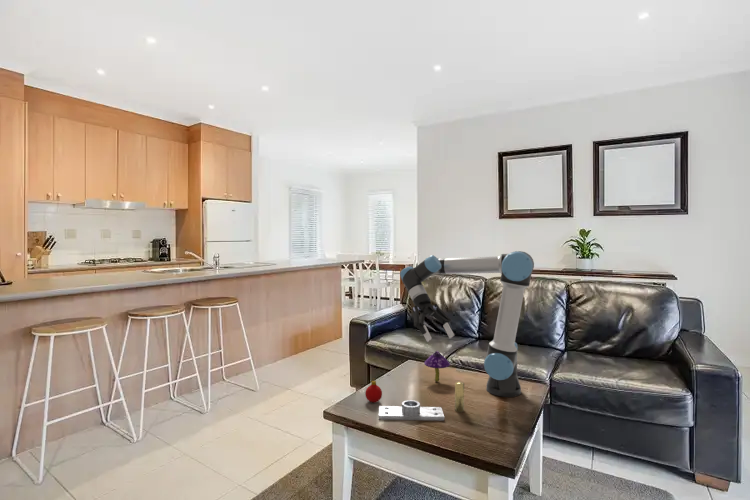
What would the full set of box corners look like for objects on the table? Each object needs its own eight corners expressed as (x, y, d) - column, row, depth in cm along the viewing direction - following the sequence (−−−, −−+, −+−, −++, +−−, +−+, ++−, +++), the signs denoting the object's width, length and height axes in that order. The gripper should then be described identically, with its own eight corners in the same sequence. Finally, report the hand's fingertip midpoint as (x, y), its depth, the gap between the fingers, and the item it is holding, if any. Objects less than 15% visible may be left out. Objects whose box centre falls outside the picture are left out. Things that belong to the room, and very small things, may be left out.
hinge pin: (463, 408, 165) (463, 381, 165) (464, 412, 162) (465, 384, 162) (454, 408, 165) (454, 381, 165) (455, 411, 162) (455, 384, 162)
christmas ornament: (379, 398, 176) (379, 375, 176) (383, 404, 169) (384, 380, 169) (363, 399, 174) (363, 376, 174) (367, 405, 167) (367, 382, 167)
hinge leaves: (441, 410, 163) (441, 399, 163) (444, 420, 154) (444, 408, 154) (379, 409, 164) (379, 398, 163) (378, 419, 155) (378, 407, 154)
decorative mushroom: (419, 382, 196) (419, 351, 196) (432, 375, 206) (433, 346, 205) (441, 388, 188) (441, 356, 188) (454, 381, 197) (454, 350, 197)
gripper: (434, 300, 193) (455, 339, 182) (394, 303, 178) (414, 346, 167) (443, 291, 189) (466, 331, 177) (403, 293, 174) (424, 337, 162)
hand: (441, 338), depth 172 cm, fingers open, 13 cm apart
